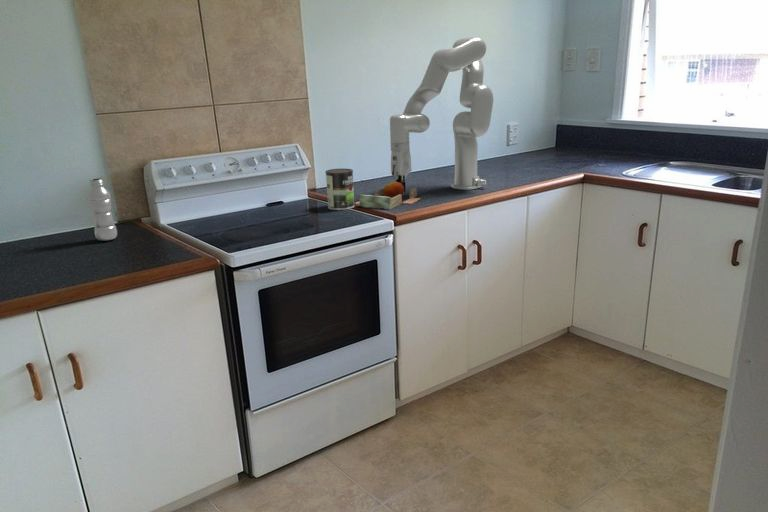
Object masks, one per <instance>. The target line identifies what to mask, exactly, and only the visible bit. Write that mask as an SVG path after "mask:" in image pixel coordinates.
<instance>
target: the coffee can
mask: <svg viewBox="0 0 768 512" xmlns="http://www.w3.org/2000/svg"><path fill="white" fill-rule="evenodd" d="M353 174H354V170H353V169H352V168H330V169H327V170H326V171H325V179H326V180H325V181H326V196H327V208H328V209H329V210H332V211H344V210H345V211H346V210H351V209H353V208H355V194H354V191H355V189H354V176H353Z"/></svg>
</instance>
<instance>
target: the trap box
mask: <svg viewBox="0 0 768 512" xmlns="http://www.w3.org/2000/svg"><path fill="white" fill-rule="evenodd" d="M408 192H409V195H408V196H409V198H408V199H410V198H417V196H418V187H412V188H411V189H409V191H408ZM358 199H359V201H360V205H359V207H360V206H364V207H363V208H369V207H373V208H372V209H380V208H384V209H383V210H392V209H393V208H395V207H397V206H400V205H402V202H403V201H402V199H403V195H397V196H395V197H393V198H391V197H385V194H384V187H382V188H379V189H377V190H375V191H374V195H373V194H372V195H371V194H359V197H358Z"/></svg>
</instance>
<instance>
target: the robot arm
mask: <svg viewBox="0 0 768 512" xmlns="http://www.w3.org/2000/svg"><path fill="white" fill-rule="evenodd" d="M486 53H487V44H486V42H485V41H484V40H483V39H482V38H480V37H477V36H476V37H467V38H466V37H464V38H460V39H458V40H456V41H455V42H454V43H453V45H452V48H446V49H445V48H444V49H439V50H437V51H435V52H434V53H433V55H432V57H431V58H430V61H429V64H428V66H427V68H426V71H425V73H424V76H423V78H422V80H421V83H420V84H419V86H418V88H416V90H415V91H414V92H413V94H412V95H411V97H410V98H409V100H408V101H407V103H406V106H405V107H404V110H403V112H402V114H393V115H391V116H390V118H389V133H390V135H389V137H390V152H391V153H390V174H391V175H392V176H393V180H395V182H400V183H401V184H402V185H403V186H404V192H403V193H405V192H406V191H407V190H406V181H407V176H408V175H409V174H411V173H412V157H411V151H410V133H415V134H416V133H417V134H419V133H420V134H421V133H424V132H426V131H427V130H428V129H429V128H430V125H431V122H430V119H429V117H428V116H427V115H426V114H423V113H422V111H423V110H424V108H425V107H426V105H427V104H429V102H431V101H432V100H433V99H435V98H436V97H438V96H439V95H440V94H441V92H442V90H443V88H444V84H445V83H446V80H447V77H448V75H449V73H453V72H457V71H460V70H462V77H461V84H460V92H459V103H460V105H461V106H462V107H463V108H467V109H470V111H467V110H466V111H460V112H458V113H457V114H456V115H455V116H454V118H453V121H452V130H453V137H454V182H452V183H451V184H450V187H451V188H452V189H454V190H455V189H456V190H461V191H462V190H464V191H465V190H467V191H468V190H469V191H470V190H475V189H476V190H477V189H479V188H481V187H482V186H481V185H485V186H486V185H487V180H486V179H485V178H483V179H481V178H480V176H479V175H478V151H479V150H478V149H479V148H478V147H479V145H478V139H477V138H480V137H483V136H484V135H486V134H487V132H488V130H489V128H490V124H491V119H492V112H493V108H494V107H493V106H494V105H493V104H494V94H493V91H492V89H491V88H490V87H489V86H488V85H486V84H483V83H484V74H485V73H484V71H485V70H484V64H483V62H482V59H483V58H484V56H485V55H486Z"/></svg>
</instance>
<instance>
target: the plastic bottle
mask: <svg viewBox="0 0 768 512" xmlns="http://www.w3.org/2000/svg"><path fill="white" fill-rule="evenodd" d="M89 185H90V187H91V188H90V190H89V192H88V196H87V198H88V201H89V204H90V207H91V210H92V213H93V221H94V235H95V236H94V237H95V238H96V239H97V240H98V241H105V242H106V241H111V240H114V239H116V238H117V236H118V229H117V226H116V225H115V221H114V218H113V217H114V216H113V212H112V195H111V192H110V191H109V190H108V189H107V188H106V187H105V186H104V185H105V182H104V179H103V178H101V177H100V178H99V177H98V178H92V179H89Z"/></svg>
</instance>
